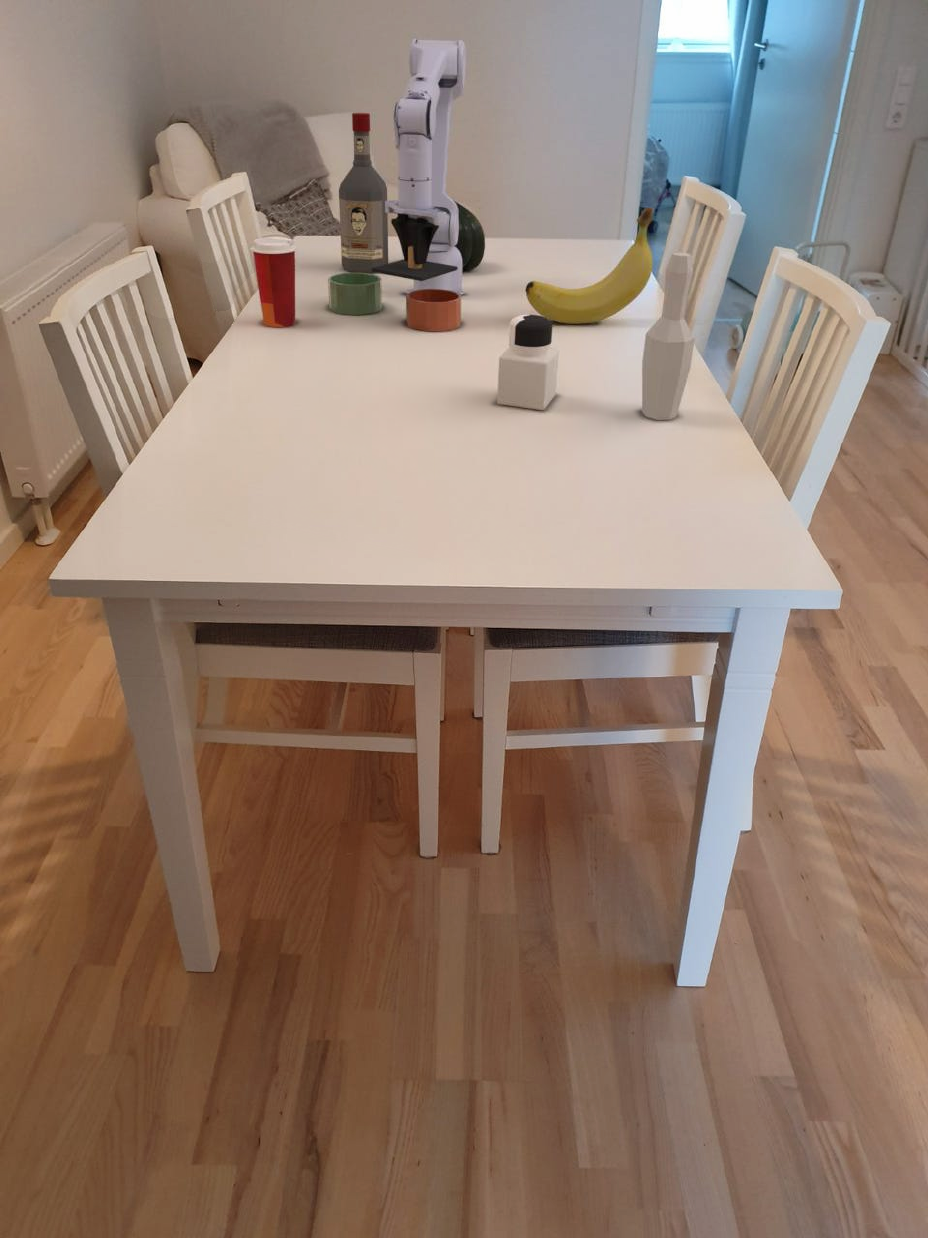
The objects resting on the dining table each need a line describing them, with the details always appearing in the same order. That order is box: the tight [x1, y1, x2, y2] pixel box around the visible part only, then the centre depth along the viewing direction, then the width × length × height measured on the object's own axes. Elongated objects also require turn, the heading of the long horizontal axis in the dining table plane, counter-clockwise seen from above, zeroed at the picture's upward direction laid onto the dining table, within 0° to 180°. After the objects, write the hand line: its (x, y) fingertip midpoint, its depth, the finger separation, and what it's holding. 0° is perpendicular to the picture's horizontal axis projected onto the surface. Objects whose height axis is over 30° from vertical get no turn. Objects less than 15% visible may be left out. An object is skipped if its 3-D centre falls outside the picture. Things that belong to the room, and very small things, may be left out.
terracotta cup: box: [405, 289, 462, 332], centre depth 173 cm, size 10×10×5 cm
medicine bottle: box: [496, 314, 560, 411], centre depth 138 cm, size 7×7×12 cm
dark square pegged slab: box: [372, 246, 458, 281], centre depth 170 cm, size 11×11×4 cm
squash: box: [453, 200, 486, 272], centre depth 208 cm, size 14×15×15 cm
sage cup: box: [327, 272, 383, 316], centre depth 181 cm, size 10×10×5 cm
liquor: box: [338, 112, 389, 274], centre depth 201 cm, size 9×9×30 cm
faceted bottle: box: [641, 251, 696, 421], centre depth 132 cm, size 6×6×22 cm
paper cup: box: [249, 236, 297, 328], centre depth 169 cm, size 8×8×14 cm
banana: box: [525, 207, 655, 325], centre depth 172 cm, size 23×6×20 cm, turn 94°
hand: (415, 261), depth 171 cm, fingers closed on dark square pegged slab, 2 cm apart
